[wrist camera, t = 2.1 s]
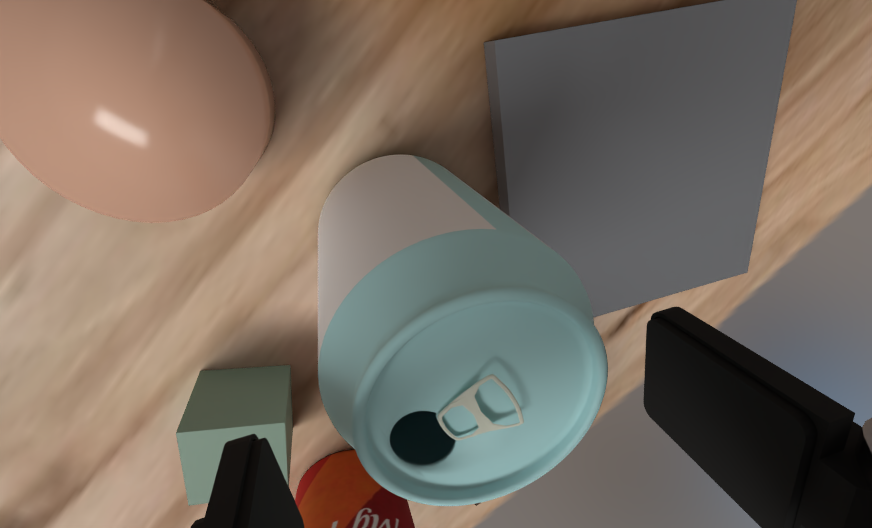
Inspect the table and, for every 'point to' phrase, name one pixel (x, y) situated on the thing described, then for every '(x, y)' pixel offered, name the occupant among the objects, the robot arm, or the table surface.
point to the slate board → (641, 142)
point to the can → (449, 337)
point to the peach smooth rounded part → (133, 103)
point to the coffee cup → (348, 497)
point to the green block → (233, 421)
